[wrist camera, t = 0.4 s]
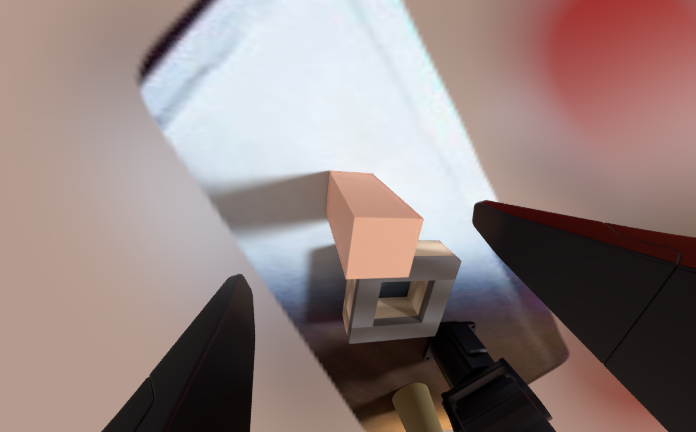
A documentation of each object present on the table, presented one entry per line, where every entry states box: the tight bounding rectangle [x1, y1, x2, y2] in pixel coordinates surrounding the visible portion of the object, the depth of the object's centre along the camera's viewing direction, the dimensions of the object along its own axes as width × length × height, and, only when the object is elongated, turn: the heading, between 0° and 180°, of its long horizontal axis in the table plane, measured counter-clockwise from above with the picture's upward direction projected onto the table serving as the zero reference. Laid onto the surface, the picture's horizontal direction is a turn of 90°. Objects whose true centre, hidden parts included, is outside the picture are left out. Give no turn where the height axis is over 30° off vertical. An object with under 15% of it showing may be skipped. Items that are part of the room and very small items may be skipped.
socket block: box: [342, 241, 461, 344], centre depth 26 cm, size 10×10×4 cm
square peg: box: [326, 171, 424, 279], centre depth 19 cm, size 4×4×10 cm
